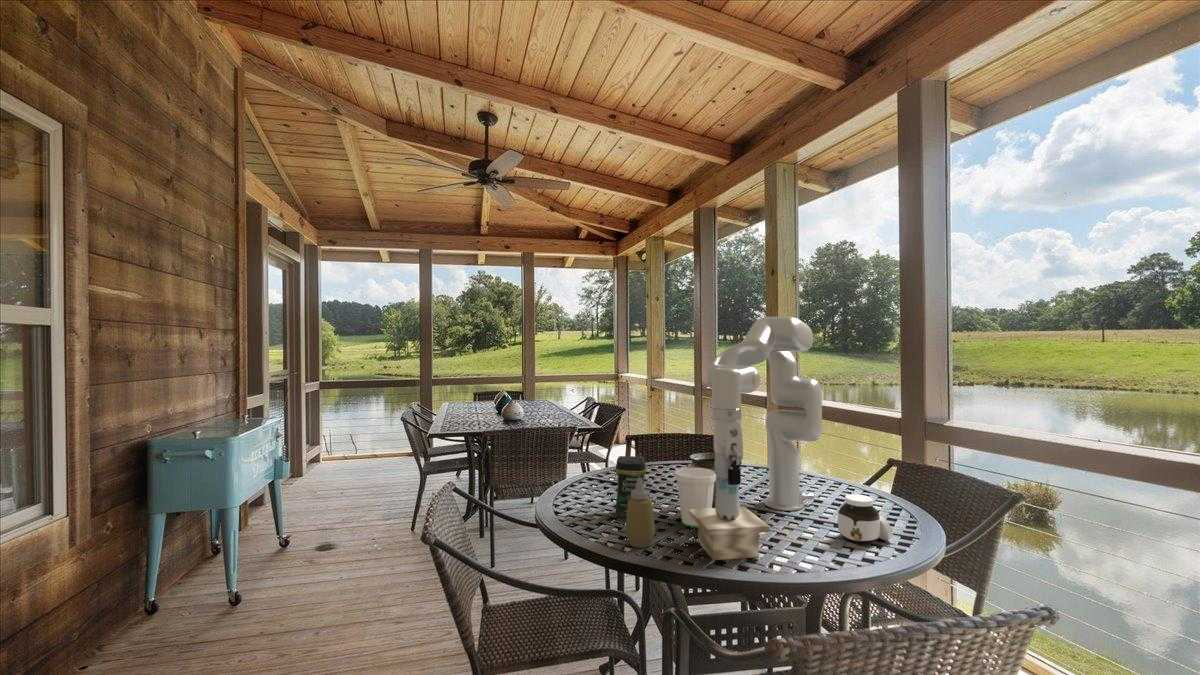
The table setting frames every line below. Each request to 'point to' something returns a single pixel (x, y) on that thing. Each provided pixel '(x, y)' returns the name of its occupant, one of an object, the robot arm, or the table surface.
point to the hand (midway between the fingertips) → (727, 479)
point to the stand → (729, 533)
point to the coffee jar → (627, 480)
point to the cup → (694, 491)
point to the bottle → (725, 491)
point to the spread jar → (862, 521)
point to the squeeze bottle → (640, 517)
